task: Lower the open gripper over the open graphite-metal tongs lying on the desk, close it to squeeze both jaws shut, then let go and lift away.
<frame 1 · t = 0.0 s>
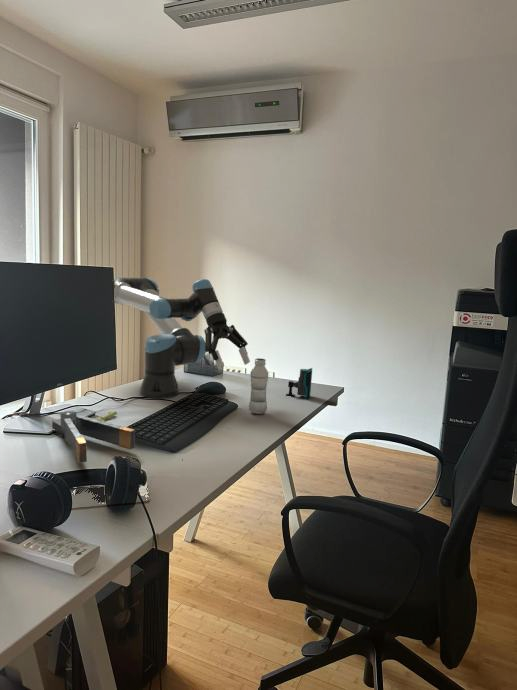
hand: (234, 365, 179), 15 cm above the table, tool tilted 35°, fingers open, 13 cm apart
plastic bottle: (257, 413, 172), on the table
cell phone: (107, 498, 108), on the table
tongs jaw 2: (104, 431, 135), point 4 cm above the table, hinge at 15.0°
tongs pivot: (68, 435, 141), on the table
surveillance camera: (297, 396, 198), on the table
tongs jaw 1: (74, 438, 129), point 4 cm above the table, hinge at 15.0°
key: (101, 423, 156), on the table
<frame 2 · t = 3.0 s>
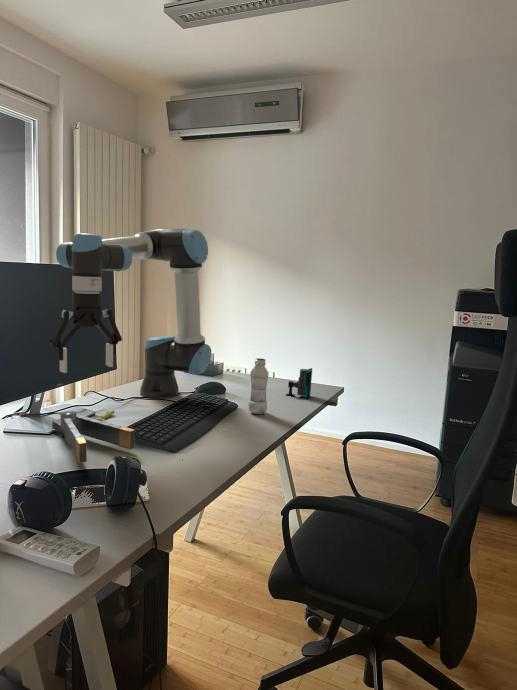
hand: (87, 369, 132), 22 cm above the table, tool pointing down, fingers open, 13 cm apart
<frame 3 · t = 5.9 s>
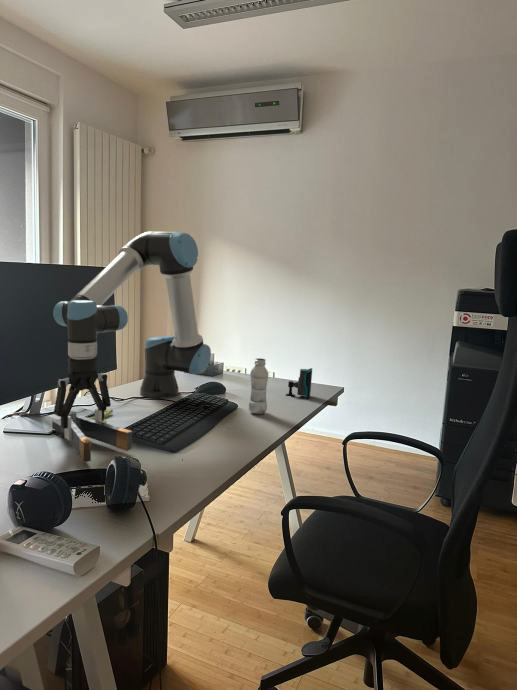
hand: (83, 434, 135), 3 cm above the table, tool pointing down, fingers open, 8 cm apart
tongs jaw 2: (102, 432, 135), point 4 cm above the table, hinge at 12.1°, touching gripper
tongs jaw 1: (76, 438, 129), point 4 cm above the table, hinge at 12.5°, touching gripper
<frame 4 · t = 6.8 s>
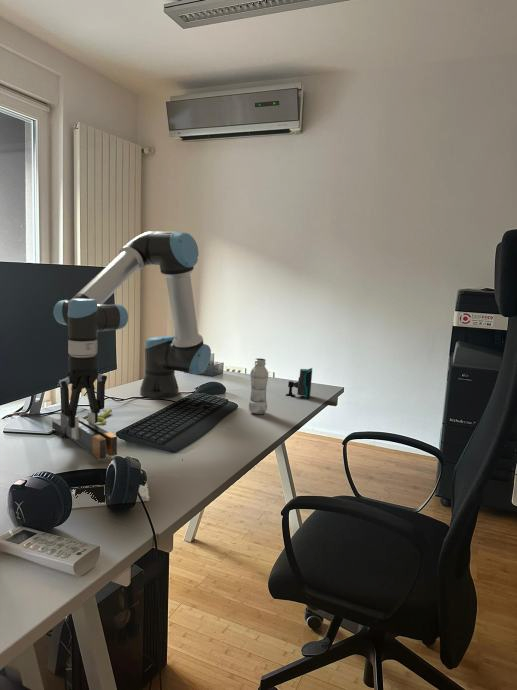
hand: (83, 436, 134), 3 cm above the table, tool pointing down, fingers open, 4 cm apart
tongs jaw 2: (94, 435, 132), point 4 cm above the table, hinge at -0.2°, touching gripper
tongs jaw 1: (85, 437, 131), point 4 cm above the table, hinge at 3.0°, touching gripper
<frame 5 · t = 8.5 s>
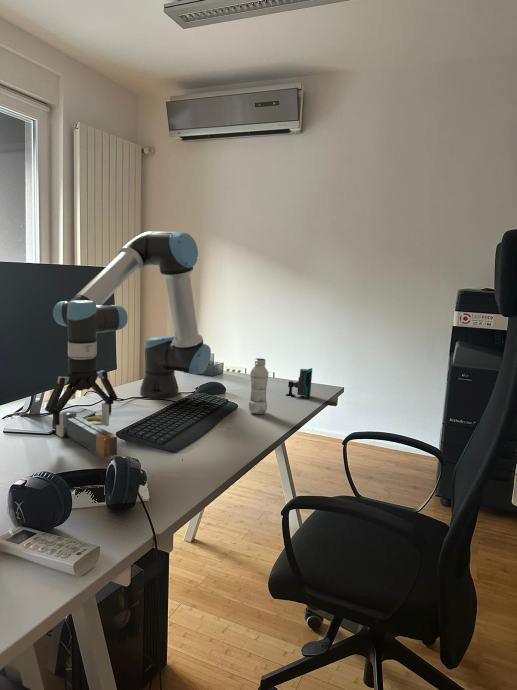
hand: (83, 430, 135), 4 cm above the table, tool pointing down, fingers open, 13 cm apart
tongs jaw 2: (94, 435, 132), point 4 cm above the table, hinge at -0.2°
tongs jaw 1: (87, 436, 131), point 4 cm above the table, hinge at 0.3°
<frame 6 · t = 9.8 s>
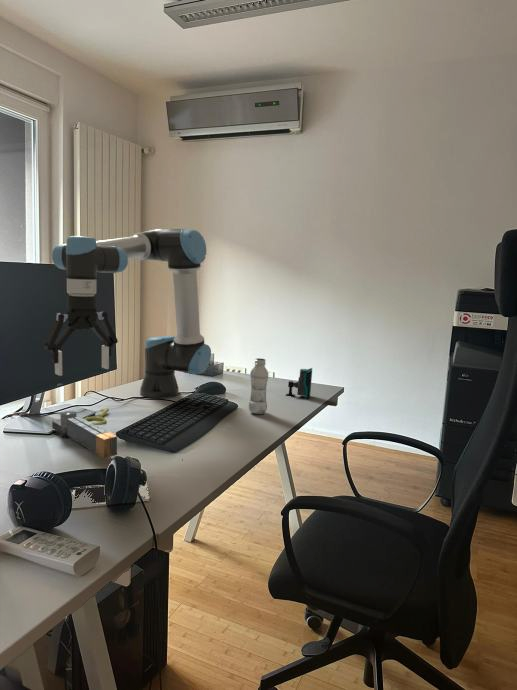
hand: (82, 371, 132), 21 cm above the table, tool pointing down, fingers open, 13 cm apart
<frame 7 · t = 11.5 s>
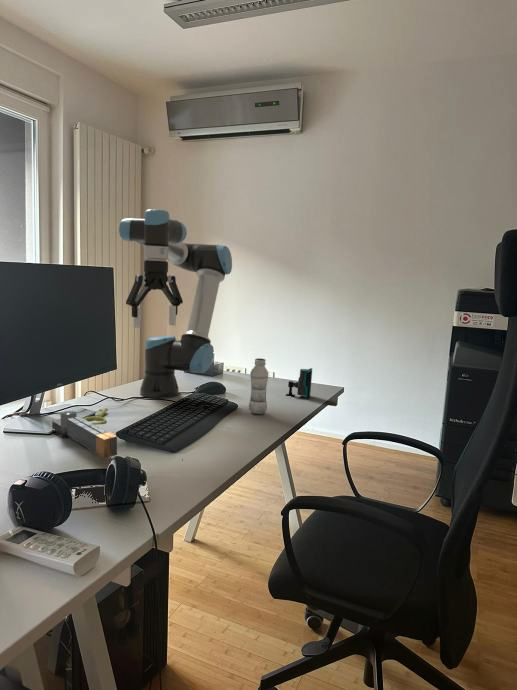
hand: (155, 326, 154), 32 cm above the table, tool pointing down, fingers open, 13 cm apart
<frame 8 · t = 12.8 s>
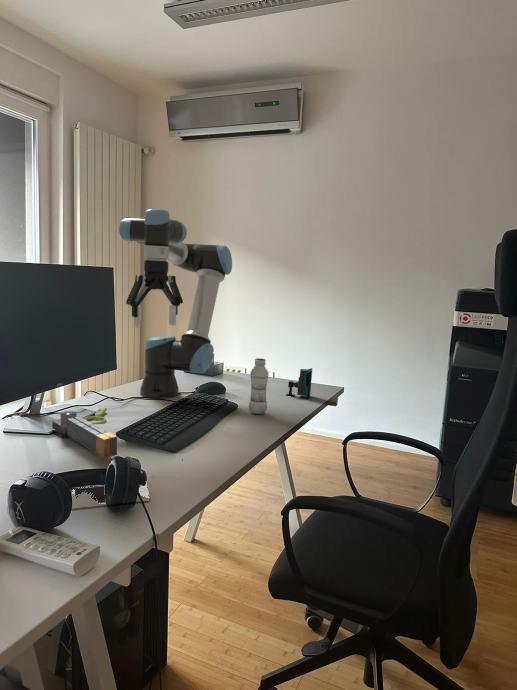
hand: (155, 326, 154), 32 cm above the table, tool pointing down, fingers open, 13 cm apart
at the end: tongs jaw 2 at +0° (first picture: +15°); tongs jaw 1 at +0° (first picture: +15°); the gripper is holding nothing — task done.
